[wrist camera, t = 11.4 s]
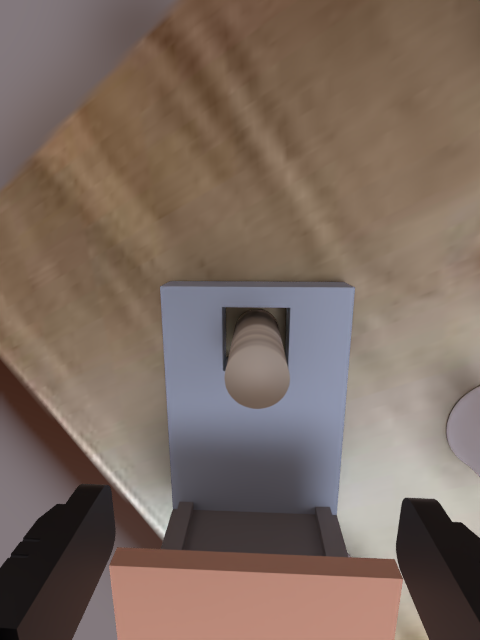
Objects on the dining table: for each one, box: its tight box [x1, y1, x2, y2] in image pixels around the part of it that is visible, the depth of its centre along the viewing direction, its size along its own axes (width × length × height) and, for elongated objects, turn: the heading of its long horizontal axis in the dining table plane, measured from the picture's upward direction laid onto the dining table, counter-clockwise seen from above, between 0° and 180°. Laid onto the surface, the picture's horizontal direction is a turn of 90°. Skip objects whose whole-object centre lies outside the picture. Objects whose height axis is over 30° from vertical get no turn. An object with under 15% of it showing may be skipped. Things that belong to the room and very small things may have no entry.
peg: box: [224, 309, 290, 409], centre depth 24 cm, size 4×4×10 cm
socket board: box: [109, 281, 403, 640], centre depth 23 cm, size 20×14×14 cm
